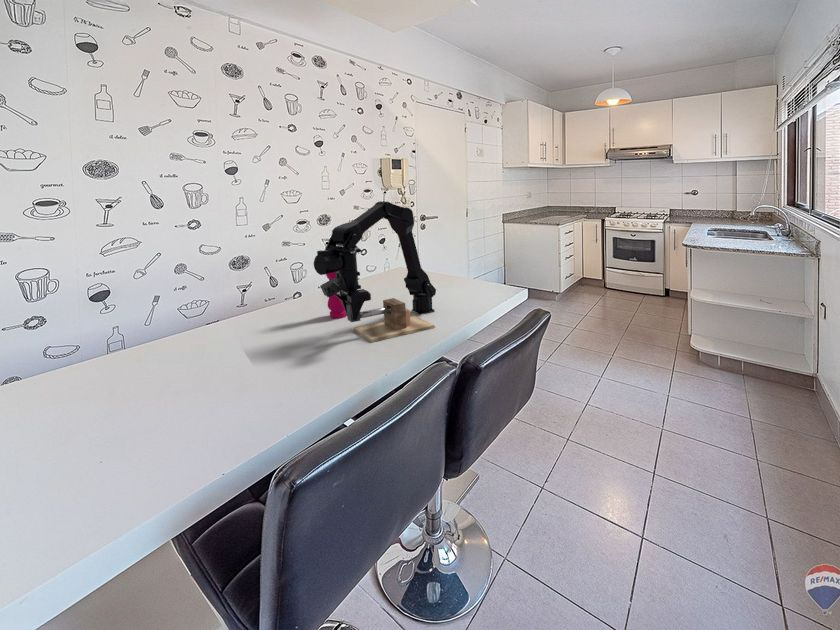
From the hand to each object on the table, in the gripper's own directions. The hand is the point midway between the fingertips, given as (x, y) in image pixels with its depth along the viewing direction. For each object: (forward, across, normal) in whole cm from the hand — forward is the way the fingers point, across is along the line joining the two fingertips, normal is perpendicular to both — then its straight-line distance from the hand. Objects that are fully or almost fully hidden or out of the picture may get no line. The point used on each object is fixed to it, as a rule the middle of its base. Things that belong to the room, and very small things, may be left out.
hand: (351, 318), depth 139 cm
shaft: (+1, 0, +7) cm, 7 cm away
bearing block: (+6, 0, +15) cm, 16 cm away
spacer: (+6, 0, +18) cm, 19 cm away
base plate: (+6, 0, +14) cm, 16 cm away
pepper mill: (+7, -26, +5) cm, 27 cm away
